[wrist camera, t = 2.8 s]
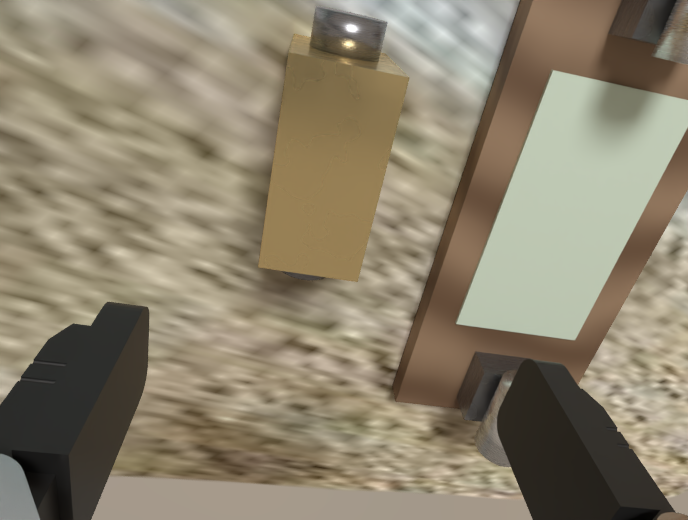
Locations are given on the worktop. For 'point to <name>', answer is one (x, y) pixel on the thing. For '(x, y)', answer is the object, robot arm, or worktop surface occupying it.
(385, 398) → the worktop surface
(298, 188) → the coupling block
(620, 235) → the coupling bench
